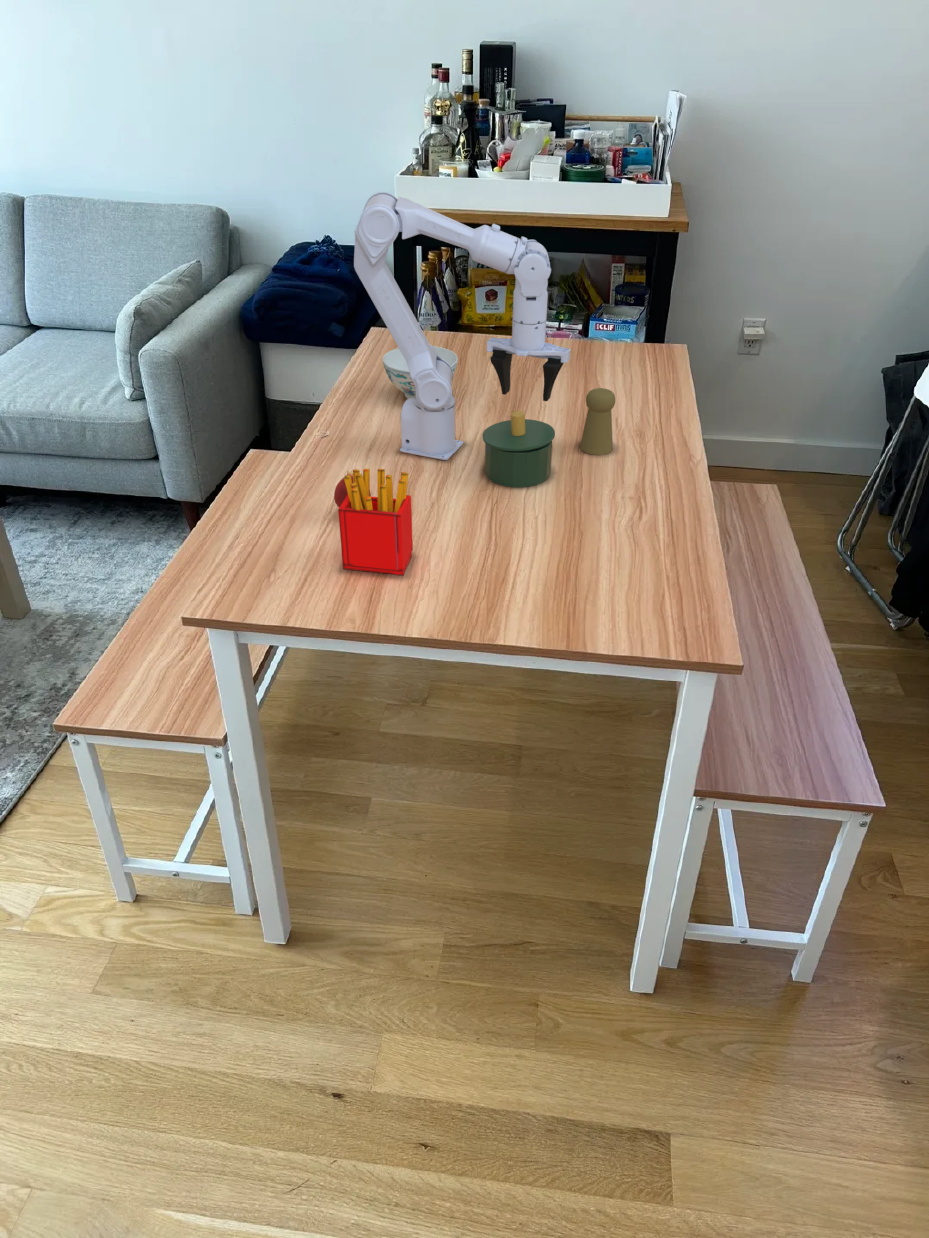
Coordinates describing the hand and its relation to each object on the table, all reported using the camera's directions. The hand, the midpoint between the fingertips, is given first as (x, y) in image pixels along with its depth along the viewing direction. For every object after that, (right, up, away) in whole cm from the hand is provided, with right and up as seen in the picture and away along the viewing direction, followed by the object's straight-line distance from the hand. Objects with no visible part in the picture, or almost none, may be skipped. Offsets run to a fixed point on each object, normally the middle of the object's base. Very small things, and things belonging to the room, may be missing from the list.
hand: (526, 395), depth 170 cm
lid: (-2, -8, -5) cm, 10 cm away
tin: (-2, -14, -1) cm, 14 cm away
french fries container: (-24, -31, -26) cm, 47 cm away
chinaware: (-20, +7, +26) cm, 33 cm away
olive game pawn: (+13, -8, +7) cm, 17 cm away
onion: (-29, -23, -14) cm, 39 cm away
